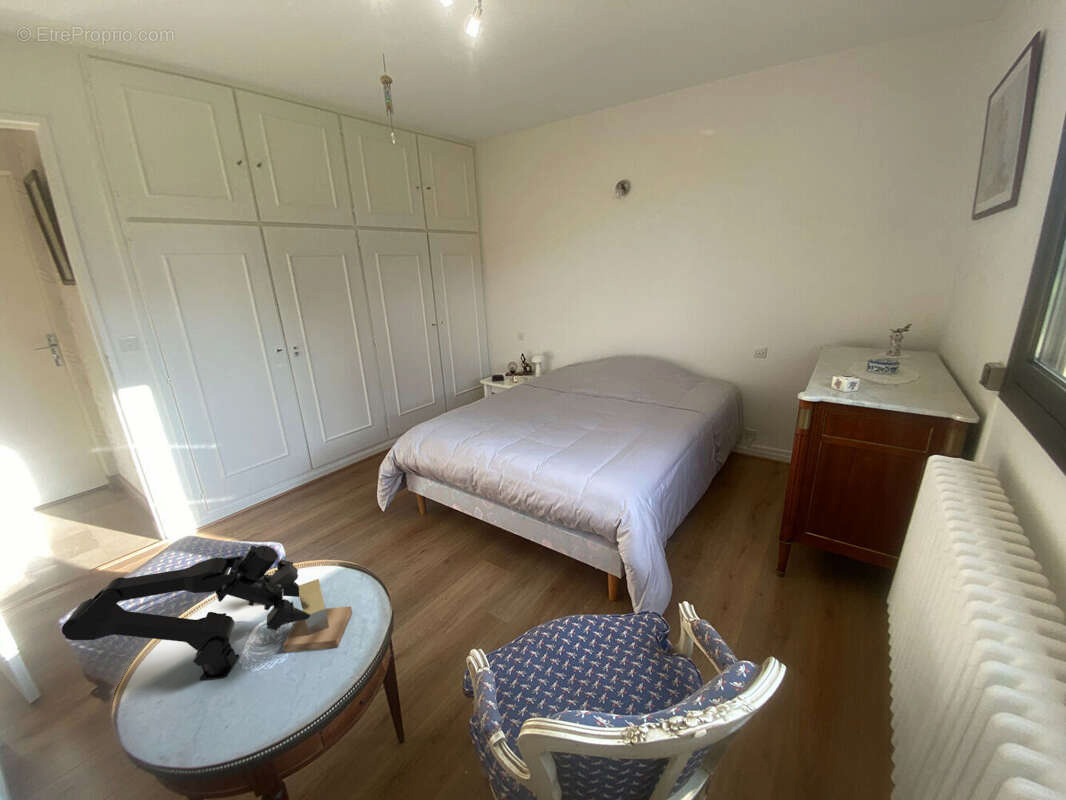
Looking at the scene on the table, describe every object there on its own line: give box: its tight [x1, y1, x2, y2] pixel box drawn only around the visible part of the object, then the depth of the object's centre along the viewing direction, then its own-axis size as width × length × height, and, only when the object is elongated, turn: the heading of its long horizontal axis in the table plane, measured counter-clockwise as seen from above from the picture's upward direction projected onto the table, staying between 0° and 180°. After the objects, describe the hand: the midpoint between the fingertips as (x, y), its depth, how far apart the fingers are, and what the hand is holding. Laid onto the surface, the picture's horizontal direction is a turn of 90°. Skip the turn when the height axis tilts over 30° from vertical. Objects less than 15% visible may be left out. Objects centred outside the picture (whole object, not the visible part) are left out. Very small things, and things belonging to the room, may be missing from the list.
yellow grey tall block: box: [298, 578, 329, 635], centre depth 118 cm, size 5×5×13 cm
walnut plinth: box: [282, 606, 353, 653], centre depth 121 cm, size 14×12×2 cm
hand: (308, 605), depth 118 cm, fingers open, 9 cm apart
